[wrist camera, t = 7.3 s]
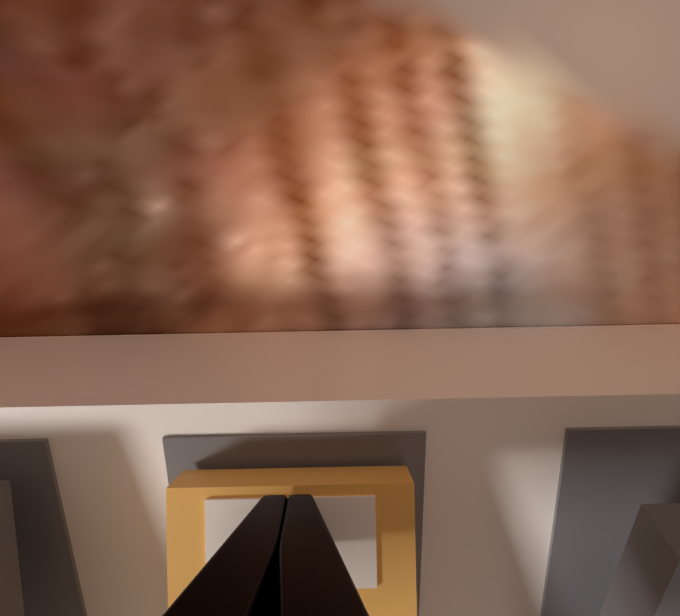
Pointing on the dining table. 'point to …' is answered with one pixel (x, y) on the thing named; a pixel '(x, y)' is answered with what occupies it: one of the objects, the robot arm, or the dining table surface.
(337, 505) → the rocker middle
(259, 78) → the dining table surface
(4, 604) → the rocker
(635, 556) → the block
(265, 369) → the rocker switch box
